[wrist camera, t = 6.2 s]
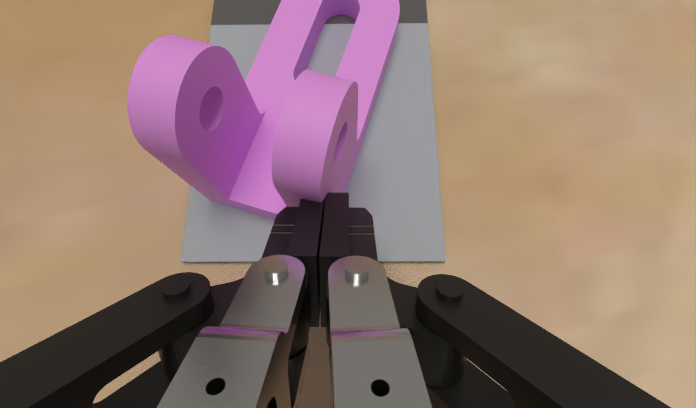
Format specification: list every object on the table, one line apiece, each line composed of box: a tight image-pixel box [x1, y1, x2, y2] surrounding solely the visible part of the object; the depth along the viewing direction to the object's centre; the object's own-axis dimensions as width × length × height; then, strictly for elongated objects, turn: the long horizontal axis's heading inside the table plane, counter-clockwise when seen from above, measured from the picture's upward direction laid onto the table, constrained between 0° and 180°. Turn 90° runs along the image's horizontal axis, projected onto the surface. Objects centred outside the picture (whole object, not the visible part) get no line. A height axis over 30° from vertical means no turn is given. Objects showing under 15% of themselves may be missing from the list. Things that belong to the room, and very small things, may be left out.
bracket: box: [128, 0, 400, 220], centre depth 14 cm, size 13×6×7 cm, turn 163°
